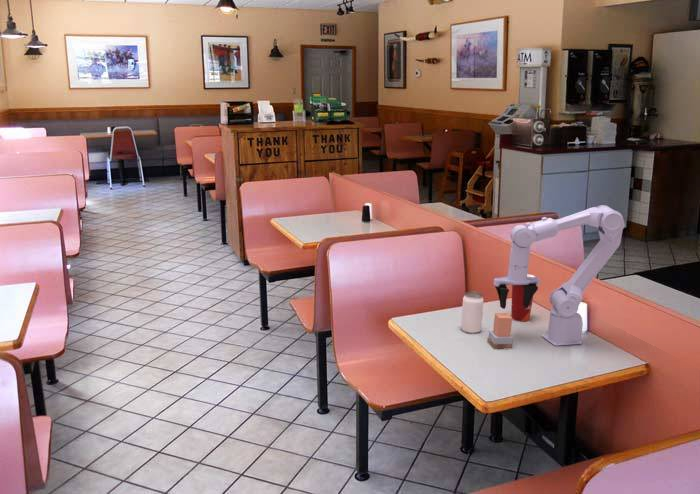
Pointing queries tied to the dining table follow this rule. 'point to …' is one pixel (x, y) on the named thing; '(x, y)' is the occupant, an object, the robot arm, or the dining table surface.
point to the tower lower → (498, 345)
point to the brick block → (502, 324)
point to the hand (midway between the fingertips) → (514, 307)
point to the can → (472, 312)
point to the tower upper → (500, 339)
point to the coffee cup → (520, 304)
